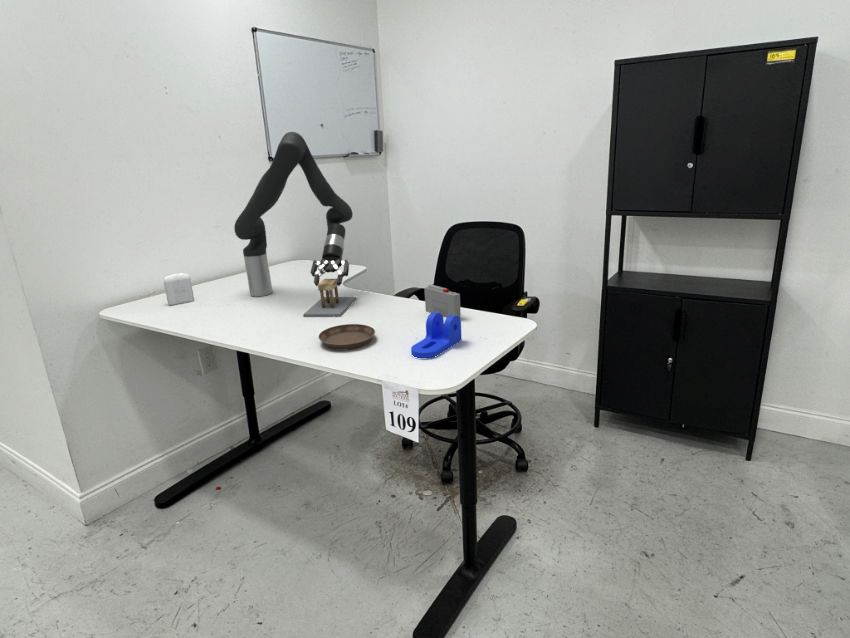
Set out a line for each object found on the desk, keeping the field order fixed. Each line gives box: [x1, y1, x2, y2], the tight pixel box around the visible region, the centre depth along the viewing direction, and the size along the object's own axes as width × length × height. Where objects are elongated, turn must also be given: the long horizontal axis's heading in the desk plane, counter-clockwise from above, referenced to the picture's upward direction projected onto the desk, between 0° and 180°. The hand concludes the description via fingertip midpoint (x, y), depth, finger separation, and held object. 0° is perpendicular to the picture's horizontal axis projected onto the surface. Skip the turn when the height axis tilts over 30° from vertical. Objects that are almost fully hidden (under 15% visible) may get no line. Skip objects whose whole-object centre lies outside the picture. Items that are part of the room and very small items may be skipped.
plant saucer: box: [318, 323, 376, 351], centre depth 165 cm, size 18×18×3 cm
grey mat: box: [302, 296, 357, 318], centre depth 201 cm, size 22×14×1 cm, turn 171°
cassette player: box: [423, 284, 462, 320], centre depth 184 cm, size 16×3×10 cm, turn 40°
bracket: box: [410, 312, 462, 359], centre depth 155 cm, size 18×8×9 cm, turn 147°
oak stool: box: [317, 278, 339, 308], centre depth 199 cm, size 5×8×9 cm, turn 172°
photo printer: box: [163, 272, 195, 306], centre depth 217 cm, size 10×4×12 cm, turn 123°
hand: (327, 285), depth 197 cm, fingers open, 8 cm apart
